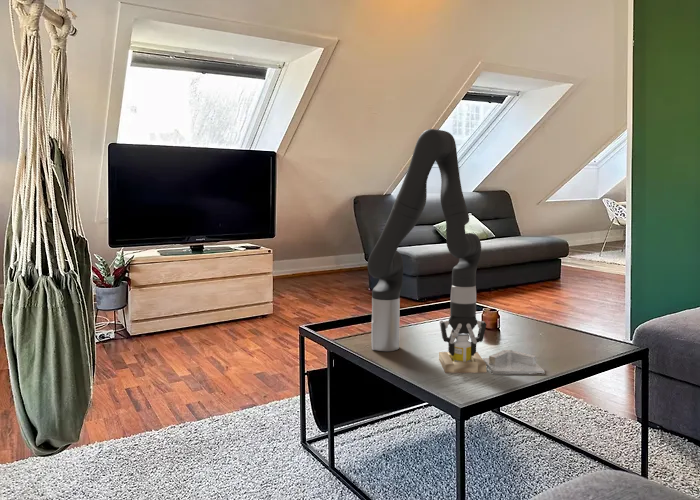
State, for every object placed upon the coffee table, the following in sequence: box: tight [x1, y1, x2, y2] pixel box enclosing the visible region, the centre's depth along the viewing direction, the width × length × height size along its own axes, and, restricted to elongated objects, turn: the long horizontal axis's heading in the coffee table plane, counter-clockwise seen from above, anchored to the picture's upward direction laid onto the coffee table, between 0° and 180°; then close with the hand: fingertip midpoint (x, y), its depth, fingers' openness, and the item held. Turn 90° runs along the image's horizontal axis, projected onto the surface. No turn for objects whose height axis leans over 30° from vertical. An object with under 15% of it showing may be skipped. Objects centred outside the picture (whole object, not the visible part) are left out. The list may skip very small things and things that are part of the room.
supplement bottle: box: [453, 333, 471, 362], centre depth 171 cm, size 5×5×10 cm
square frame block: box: [438, 351, 487, 374], centre depth 172 cm, size 12×12×2 cm
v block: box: [482, 349, 545, 375], centre depth 170 cm, size 15×12×4 cm
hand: (462, 354), depth 171 cm, fingers closed on supplement bottle, 5 cm apart
